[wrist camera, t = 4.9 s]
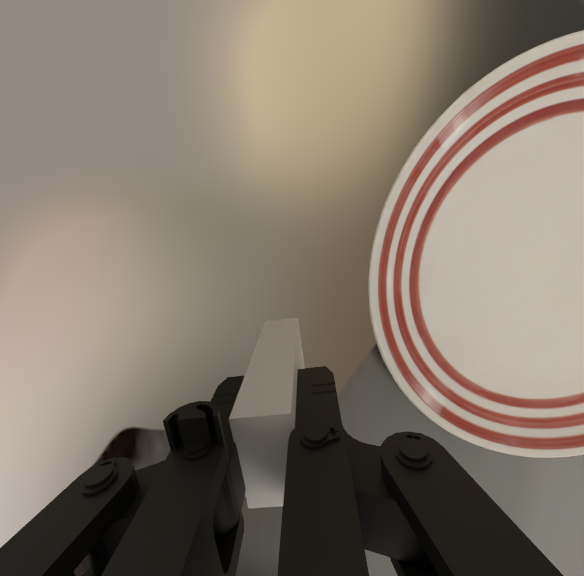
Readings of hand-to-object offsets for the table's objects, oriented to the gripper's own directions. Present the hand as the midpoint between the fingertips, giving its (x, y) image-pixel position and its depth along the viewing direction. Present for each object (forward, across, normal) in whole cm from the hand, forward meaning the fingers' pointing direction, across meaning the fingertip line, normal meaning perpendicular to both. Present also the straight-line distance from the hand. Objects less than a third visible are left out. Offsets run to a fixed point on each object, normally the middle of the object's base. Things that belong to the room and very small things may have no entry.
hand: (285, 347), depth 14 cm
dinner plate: (+10, -19, 0) cm, 21 cm away
